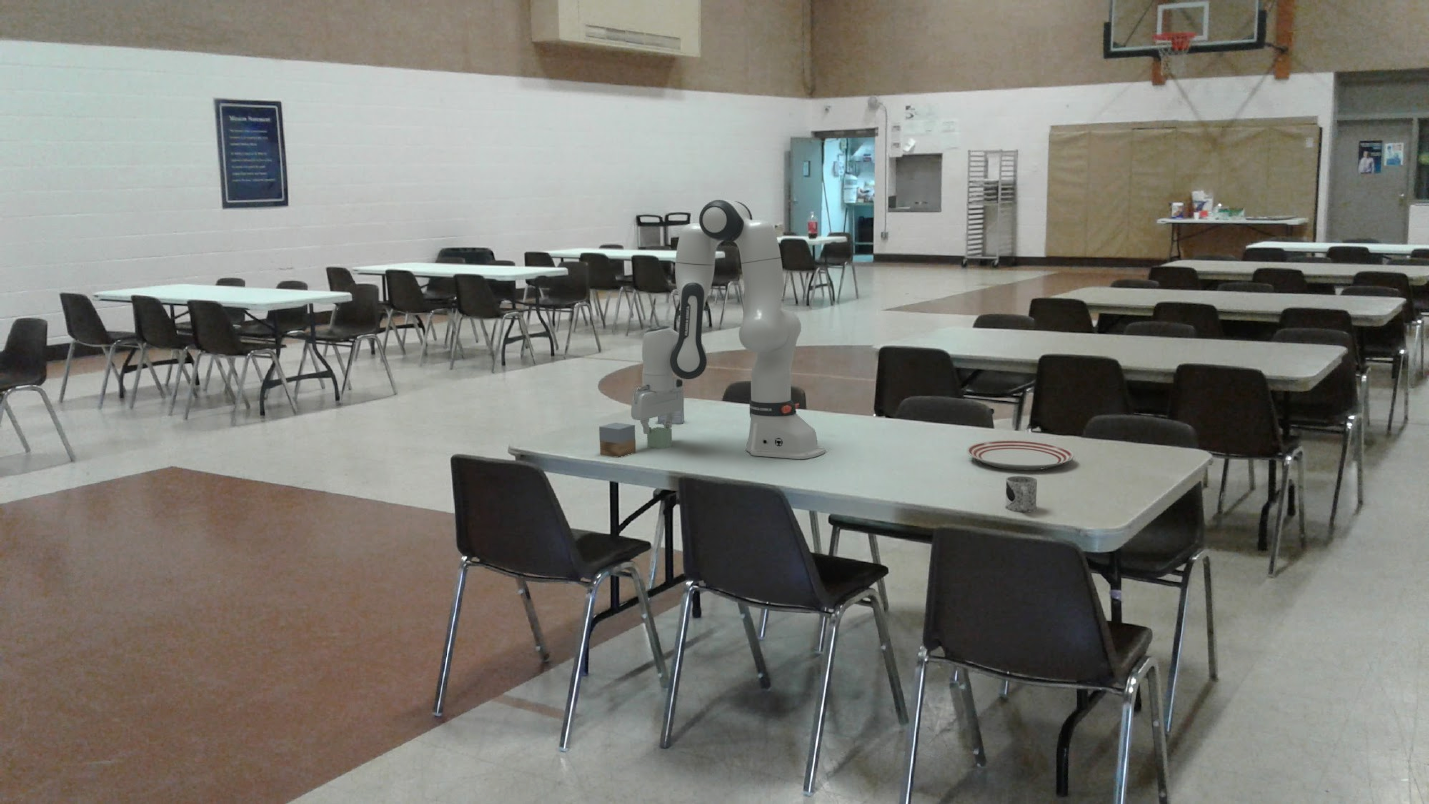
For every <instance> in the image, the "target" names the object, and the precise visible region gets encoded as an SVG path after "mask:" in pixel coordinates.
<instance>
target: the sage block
mask: <svg viewBox="0 0 1429 804" xmlns="http://www.w3.org/2000/svg"><path fill="white" fill-rule="evenodd" d="M672 432H673V431H672V428H664V427H660V426H657V427H656V426H655V427H653V428H652V427H651V433H650V434H646V435H647V436H646V439H647V441H646V443H647V448H653V449H654V448H655V449H662V450H663V449H664V448H668V447H672V446H673V436H672V435H673V434H672Z"/></svg>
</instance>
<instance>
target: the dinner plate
mask: <svg viewBox="0 0 1429 804" xmlns="http://www.w3.org/2000/svg"><path fill="white" fill-rule="evenodd" d="M966 453H967V454H968V455H969V456H971V457H973V459H976V460H977V461H979V462H982V463H985V464H987V465H988V464H989V465H988V466H991V467H994V466H995V468H1000V469H1005V468H1007V469H1006V470H1014V469H1020V470H1019V471H1025V470H1024V469H1039V470H1042V469H1041V468H1046V469H1049V468H1048V467H1050V468H1053V467H1055V466H1056V467H1057V466H1060V465H1063V464H1065V463H1067V462H1070V461H1071V460H1073V459H1074V457H1075V455H1074V453H1073V451H1071V450H1070V449H1068V448H1066V447H1063V446H1059V445H1057V444H1056V445H1055V444H1052V443H1047V442H1043V441H1033V440H1022V439H1021V440H1020V439H1001V440H1000V439H999V440H989V441H988V440H987V441H982V442H978V443H973V444H971V445H969V446H967V448H966ZM1022 469H1023V470H1022Z"/></svg>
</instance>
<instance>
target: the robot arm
mask: <svg viewBox="0 0 1429 804" xmlns="http://www.w3.org/2000/svg"><path fill="white" fill-rule="evenodd" d="M698 218H699V219H698V222H691V223H689V224H688V223H687V224H685V225H684V226H683V227H682V229H681V230H680V233H679V237H678V242H677V245H676V246H677V247H676V254H675V264H674V272H675V273H674V276H675V284H676V290H677V295H678V299H679V309H680V310H679V311H680V314H679V328H678V331H677V330H674V329H673V328H672V327H671V326H668V325H660V326H659V325H658V326H654V327H651V328H649V329H647V330H646V331H645V332H644V334H643V338H642V348H641V353H642V354H641V358H642V363H643V367H642V372H641V375H642V377H641V382H642V383H641V385H642V386H638V387H636V389H635V391H634V392H633V396H632V399H631V409H630V416H631V418H632V420H637V421H640V422H639V423H640V425H641V426H642V428H643V434H645V435H647V434H650V433H651V429H652V427H650V425H649V423H650V419H652V418H658V416H662V415H666V416H667V418H666V422H664V424H663V428H670V429H672V425H673V424H672V421H673V418H674V413H675V412H678V411H681V410H682V409H683V406H684V407H685V391H684V389H683V387H684V385H685V380H693V379H696V378H698V377H700V376H701V375H702V374H703V373H704V371H705V369H706V368H707V364H708V363H707V362H708V360H707V354H706V348H705V346H704V344H703V341H702V334H703V333H702V331H703V319H704V310H705V306H706V302H707V299H708V296H709V293H710V291H711V288H712V284H713V281H714V274H715V267H716V254H717V253H716V252H717V249H718V246H719V245H720V244H722V243H723V244H724V243H728V242H730V243H733V242H734V243H735V245H736V246H737V249H738V251H739V257H740V263H741V264H740V265H741V274H742V280H743V281H742V282H743V288H744V302H743V304H744V305H743V314H742V315H743V316H742V322H741V325H740V327H739V330H738V338H739V342H740V344H741V345H742V346H743V347H744V348H745V349H746V350H747V351H749V352H752V353H756V358H755V362H754V364H753V368H751V371H750V397H751V398H750V400H749V418H750V423H749V430H748V431H749V432H748V438H747V443H746V446H745V450H746V451H747V452H748V453H750V455H751V456H757V457H771V458H781V459H794V460H806V459H813V458H816V457H818V456H822V455H824V453H826V447H825V446H821V445H818V437H817V432H816V430H815V429H814V428H813V426H811V425H810V424H809V423H807V421H805V420H804V418H802V417H801V416H800V415H798V413H797V408H800V406H799V405H800V403H794V401H793V400H792V391H791V390H792V367H793V362H794V356H795V353H796V346H797V340H798V338H799V336H800V335H801V331H802V324H801V321H800V318H799V316H797V314H795V313H794V312H792V310H791V311H790V310H787V309H784V308H782V297H783V294H784V290H785V277H784V271H783V262H782V256H781V249H780V246H779V241H778V238H777V234H776V231H775V228H774V226H773V224H772V223H771V222H769V221H767V220H764V219H753V215H752V212H751V210H750V209H749V208H748V206H746V205H745V204H744V203H742V202H740V201H738V200H736V201H735V200H733V199H726V198H725V199H724V198H723V199H715V200H711V201H709V202H707V204H705V205H704V206H703V207H702V209H701V211H700V213H699V217H698ZM674 374H675V375H676V376H674ZM677 376H678V377H677Z"/></svg>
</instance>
